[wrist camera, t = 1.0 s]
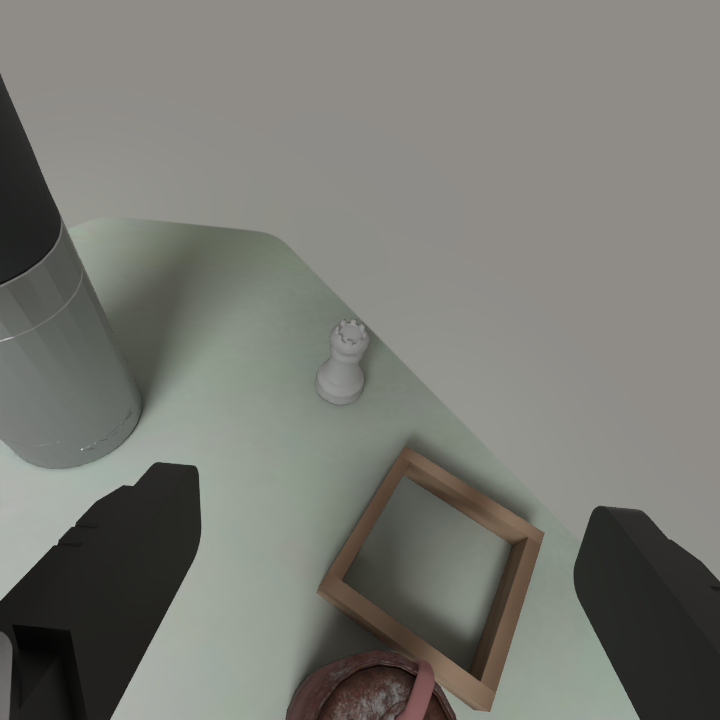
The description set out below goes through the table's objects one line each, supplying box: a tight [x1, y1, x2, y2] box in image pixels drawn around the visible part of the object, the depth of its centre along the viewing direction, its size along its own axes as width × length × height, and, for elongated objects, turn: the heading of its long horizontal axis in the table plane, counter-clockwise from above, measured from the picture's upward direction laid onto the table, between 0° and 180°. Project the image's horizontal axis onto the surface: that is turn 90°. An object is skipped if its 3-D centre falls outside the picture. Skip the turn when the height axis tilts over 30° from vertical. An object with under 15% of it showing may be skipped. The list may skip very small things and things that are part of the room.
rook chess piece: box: [315, 319, 370, 405], centre depth 36 cm, size 4×4×8 cm
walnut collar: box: [317, 446, 544, 712], centre depth 30 cm, size 12×12×2 cm
